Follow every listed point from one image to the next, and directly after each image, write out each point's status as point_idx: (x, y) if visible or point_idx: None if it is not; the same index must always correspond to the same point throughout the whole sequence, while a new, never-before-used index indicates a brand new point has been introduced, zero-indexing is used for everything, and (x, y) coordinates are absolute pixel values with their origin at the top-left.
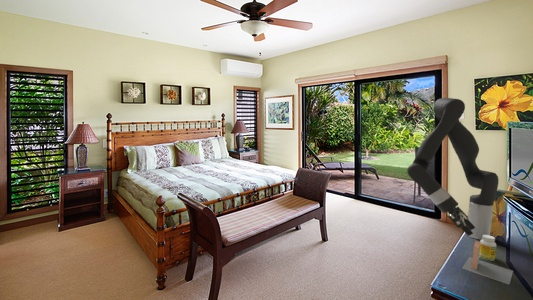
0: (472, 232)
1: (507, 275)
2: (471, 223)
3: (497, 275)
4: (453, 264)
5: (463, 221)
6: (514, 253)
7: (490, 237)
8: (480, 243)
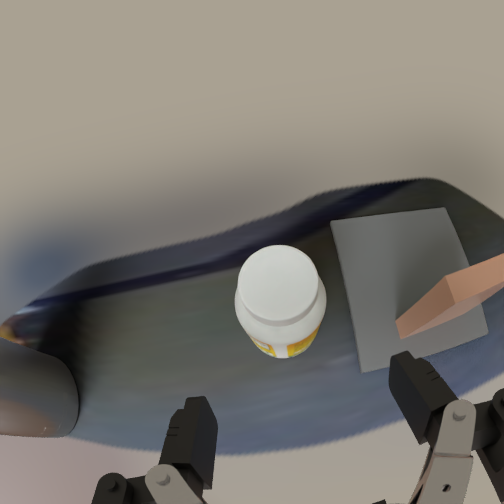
0: (405, 353)
1: (393, 223)
2: (193, 430)
3: (426, 242)
4: (473, 374)
5: (444, 450)
6: (124, 266)
7: (282, 268)
8: (457, 272)
